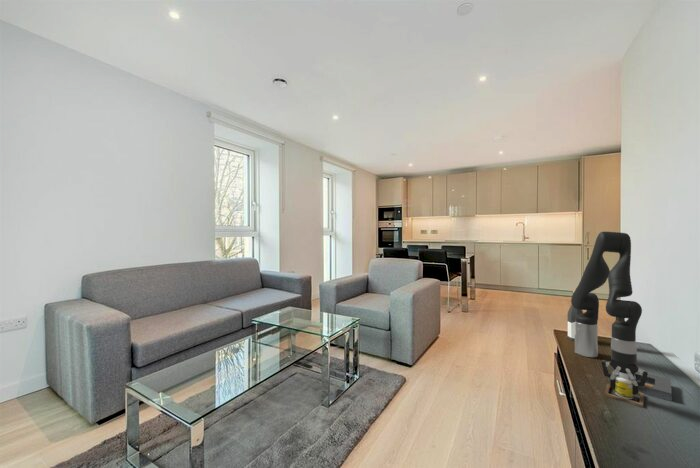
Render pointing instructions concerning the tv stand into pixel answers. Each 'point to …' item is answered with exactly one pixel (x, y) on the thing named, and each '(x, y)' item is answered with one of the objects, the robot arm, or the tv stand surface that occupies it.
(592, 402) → the tv stand surface
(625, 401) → the cradle
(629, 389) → the supplement bottle
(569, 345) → the tv stand surface
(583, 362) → the tv stand surface
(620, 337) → the robot arm
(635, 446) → the tv stand surface
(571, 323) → the wine bottle
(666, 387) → the socket plate
